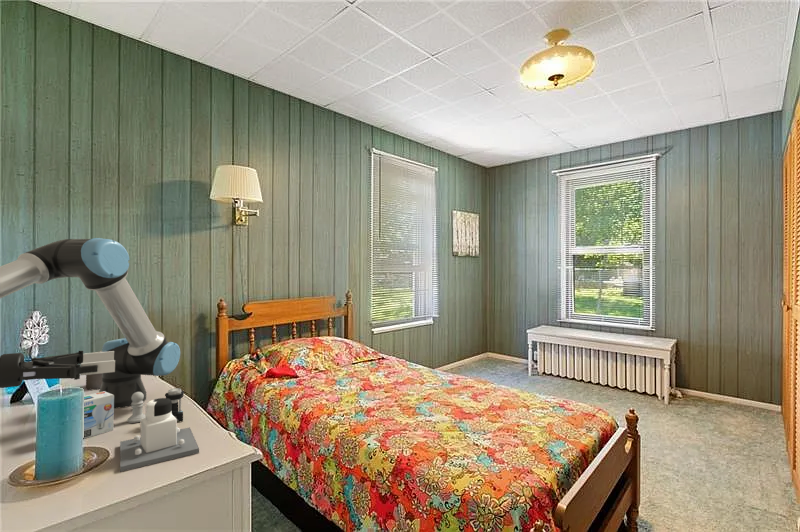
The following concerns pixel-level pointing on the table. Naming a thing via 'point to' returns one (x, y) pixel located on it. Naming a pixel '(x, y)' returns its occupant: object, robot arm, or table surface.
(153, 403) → the medicine bottle
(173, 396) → the push button
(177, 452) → the pin tray
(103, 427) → the light bulb box
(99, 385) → the pillar candle
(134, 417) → the chess piece
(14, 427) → the table surface
